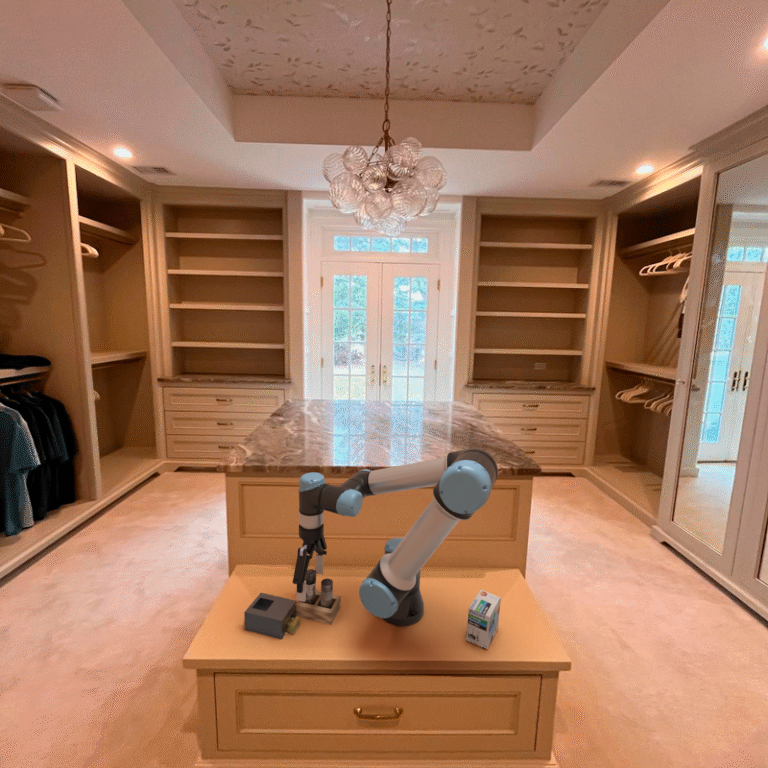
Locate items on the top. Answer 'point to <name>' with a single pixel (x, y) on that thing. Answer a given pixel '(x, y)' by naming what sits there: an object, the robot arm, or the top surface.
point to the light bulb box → (483, 618)
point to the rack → (321, 605)
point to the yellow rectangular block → (292, 624)
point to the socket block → (269, 615)
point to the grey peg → (310, 587)
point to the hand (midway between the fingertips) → (310, 586)
